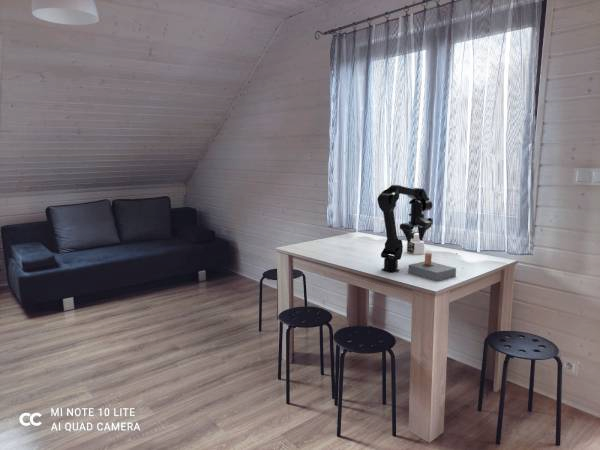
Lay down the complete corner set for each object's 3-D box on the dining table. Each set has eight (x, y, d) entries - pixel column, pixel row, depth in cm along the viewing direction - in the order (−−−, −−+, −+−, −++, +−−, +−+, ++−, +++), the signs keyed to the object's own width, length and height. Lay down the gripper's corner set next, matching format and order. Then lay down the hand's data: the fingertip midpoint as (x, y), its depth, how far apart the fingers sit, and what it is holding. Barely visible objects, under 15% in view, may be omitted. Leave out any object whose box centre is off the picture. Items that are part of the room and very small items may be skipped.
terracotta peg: (428, 274, 216) (429, 254, 214) (422, 273, 219) (423, 253, 217) (431, 273, 218) (432, 253, 216) (426, 272, 220) (427, 252, 219)
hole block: (436, 281, 205) (437, 272, 205) (408, 272, 219) (408, 264, 218) (455, 276, 213) (456, 268, 213) (426, 268, 227) (427, 260, 226)
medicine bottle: (406, 252, 263) (407, 232, 261) (416, 251, 265) (417, 231, 263) (413, 254, 256) (414, 234, 254) (424, 253, 259) (425, 233, 256)
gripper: (416, 215, 220) (415, 246, 222) (440, 212, 230) (439, 242, 233) (399, 212, 229) (398, 242, 231) (423, 210, 239) (422, 238, 242)
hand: (415, 241), depth 234 cm, fingers open, 9 cm apart
